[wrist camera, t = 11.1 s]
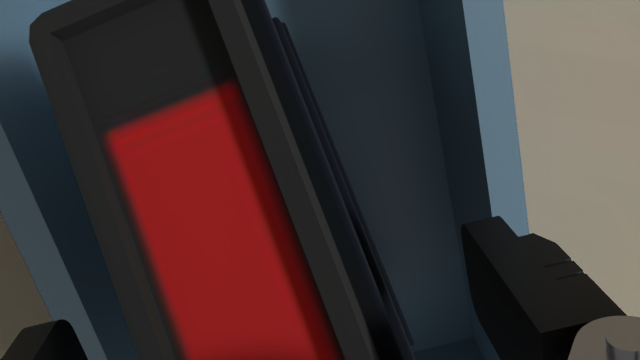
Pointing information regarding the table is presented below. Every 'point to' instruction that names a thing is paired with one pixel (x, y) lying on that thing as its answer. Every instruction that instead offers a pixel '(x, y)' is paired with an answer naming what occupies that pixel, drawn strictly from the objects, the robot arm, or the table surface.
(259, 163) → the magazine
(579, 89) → the table surface
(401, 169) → the bin
